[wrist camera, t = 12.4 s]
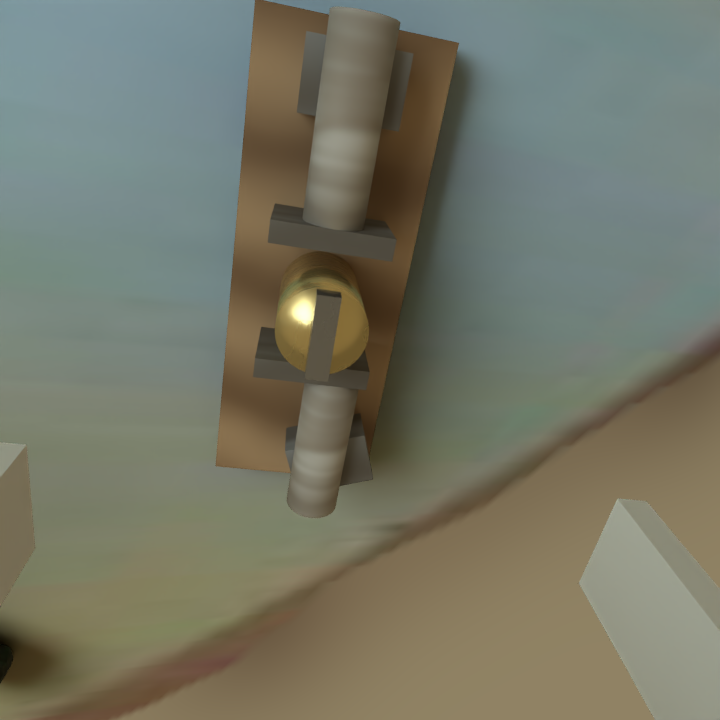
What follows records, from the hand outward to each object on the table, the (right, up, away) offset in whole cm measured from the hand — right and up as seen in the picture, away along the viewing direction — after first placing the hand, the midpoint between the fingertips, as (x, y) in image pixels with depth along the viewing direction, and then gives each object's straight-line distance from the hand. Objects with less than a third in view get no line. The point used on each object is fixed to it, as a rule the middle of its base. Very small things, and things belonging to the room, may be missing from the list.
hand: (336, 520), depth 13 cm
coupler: (-2, +7, +17) cm, 18 cm away
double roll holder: (-2, +8, +18) cm, 20 cm away
